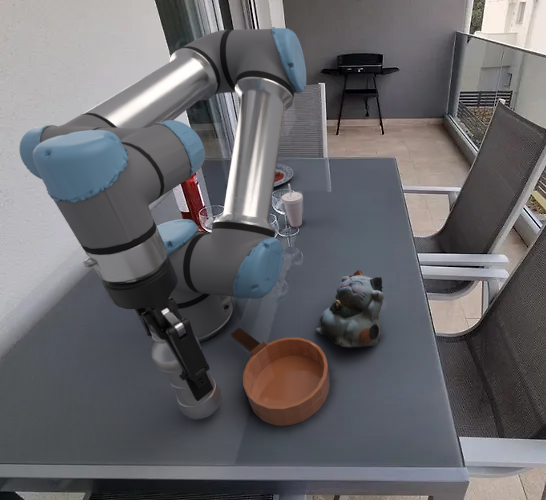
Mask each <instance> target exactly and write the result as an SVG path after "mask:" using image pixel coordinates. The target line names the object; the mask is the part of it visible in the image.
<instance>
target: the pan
mask: <svg viewBox="0 0 546 500" xmlns="http://www.w3.org/2000/svg"><path fill="white" fill-rule="evenodd" d="M266 344H267V346H266V345H265V347H264V348H261V349H262V350H261V351H259V350H258V351H259V352H258V353H257V352H256V355H253V356H252V357H251V356H250V358H249V360H248V361H247V363H246V365H245V368H244V371H243V373H242V386H243V389H244V391H245V395H246V397H247V401H248V402H249V405H250V408H251V410H252V412H253V413H254V414H255V415H256V416H257V417H258V418H259V419H260V420H262V421H263V422H265V423H267V424H270V425H274V426H278V427H279V426H280V427H283V426H285V427H286V426H292V425H296V424H299V423H302V422H304V421H306V420H308V419H310V418H311V417H312V416H313V415H314V414H316V413H317V412H319V410H320V409H321V408H322V406H323V405H324V403H325V402H326V399H327V397H328V395H329V391H330V382H331V381H330V372H329V365H328V359H327V357H326V354H325V353H324V351H323V350H322V348H321V347H320V346H319V345H318V344H317V343H315V342H313V340H310V339H306V338H304V337H300V336H296V337H295V336H287V337H283V338H277V339H275V340H272V341H271V342H268V343H266Z"/></svg>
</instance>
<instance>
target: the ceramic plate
mask: <svg viewBox="0 0 546 500" xmlns="http://www.w3.org/2000/svg"><path fill="white" fill-rule="evenodd" d="M293 176H294V170H293V168H291V167H290V166H288V165H286V164H280V163H277V166H276V173H275V180H274V187H277V186H280V185H282V184H285V183H287V182H289V180H291V178H292V177H293ZM228 180H229V178H227V181H228Z"/></svg>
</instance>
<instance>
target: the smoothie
mask: <svg viewBox="0 0 546 500" xmlns="http://www.w3.org/2000/svg"><path fill="white" fill-rule="evenodd" d="M287 185H288V192H286V193H284V194H283V195H282V196H281V202H282V203H283V206H284V208H285V209H284V210H285V212H286V215H287V219H288V222H289V225H290V227H292V228H297V227H301V226H302V224H303V199H304V197H303V194H302V193H301V192H298V191H292V189H291V183H287Z"/></svg>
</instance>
